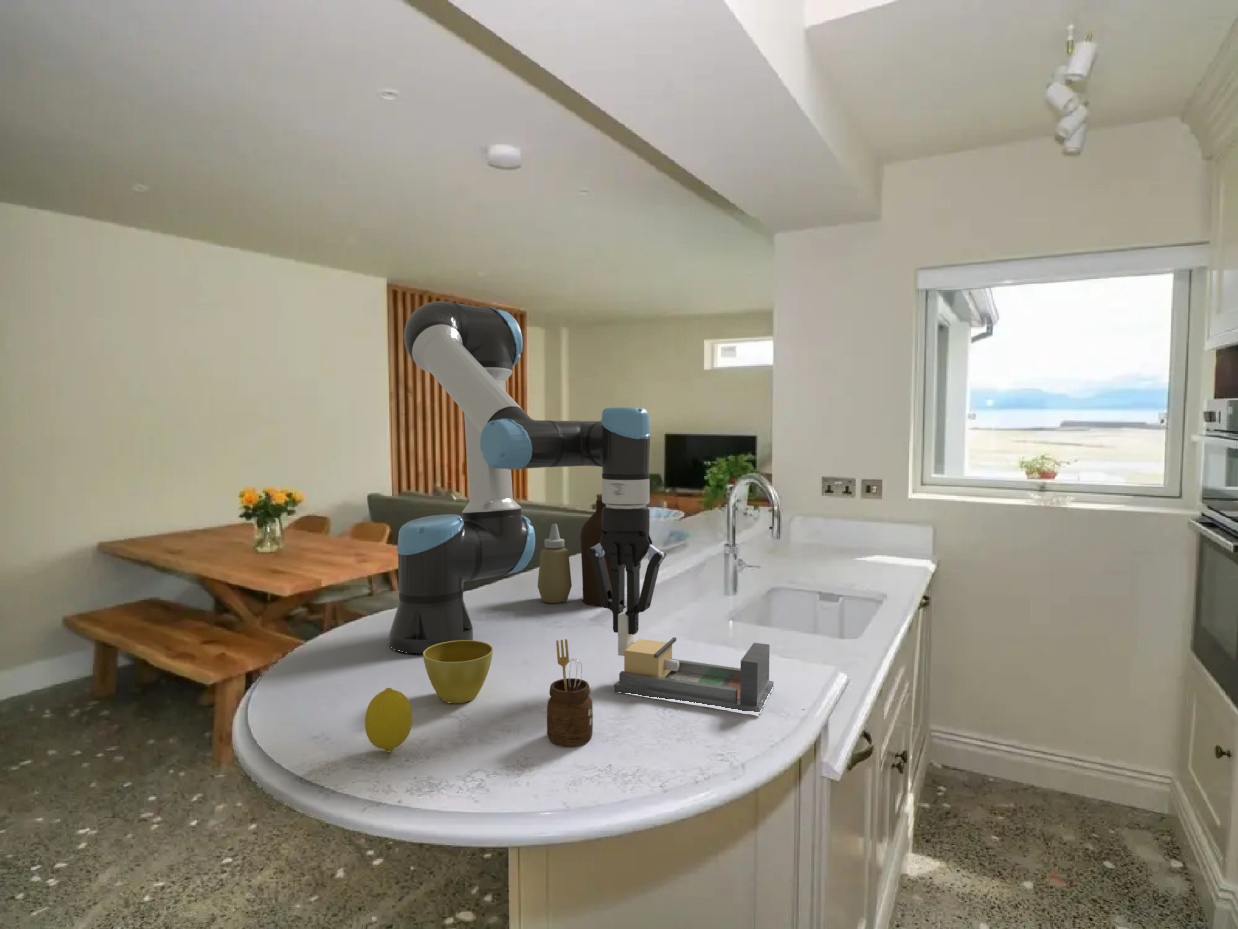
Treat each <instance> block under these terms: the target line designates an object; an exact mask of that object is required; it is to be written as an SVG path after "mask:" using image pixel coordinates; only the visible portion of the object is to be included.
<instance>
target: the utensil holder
mask: <svg viewBox="0 0 1238 929" xmlns="http://www.w3.org/2000/svg"><path fill="white" fill-rule="evenodd" d="M559 642H560V643H559ZM555 644H556V657H557V658H556V659H557V665H559V666H561V667H562V677H563V678H560V679H557V680H554V681H553V682H552V683H551V684H550V687H549V690H548V691H549V693H548V694H549V696H550V697H549V698H548V701H547V705H546V734H547V739H548V741H549V742H550V743H551V744H553V745H555V746H557V747H562V748H576V747H580V746H583V745H585V744H587V743H588V742H590V740H592V736H593V725H594V718H593V717H594V715H593V714H594V713H593V712H594V709H593V701H592V698H591V697H590V693H591V688H590V684H589V682H588V681H586V680H584V679H582V673H583V667H582V666H583V664H582V663H581V662H580V660H579V659H577V658H571V659H570V655H569V645H568V644H569V643H568V639H567V638H566V639H564V640H563V639H560V641H559V640H555ZM564 646H565V649H564ZM560 649H561V650H560ZM564 650H565V651H564ZM560 652H561V654H560ZM560 655H561V656H560ZM572 662H575V664H574V665H577V664H578V665H579V666H580V669H581V672H580V675H581V676H580V678H576V677H577V675H578V667H575V669H576V670H575V671H576V672H575V674H576V675H575V677H574V678H573V677H567V673H566V669H567V668H566V667H567V665H569V663H570V665H569V669H571V667H572V664H573V663H572ZM576 662H577V663H576ZM568 673H569V674H568V676H571V670H569V672H568Z"/></svg>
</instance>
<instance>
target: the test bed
mask: <svg viewBox="0 0 1238 929" xmlns="http://www.w3.org/2000/svg"><path fill="white" fill-rule="evenodd" d="M770 646H771V645H770V644H769V643H760V642H753V643H752V645H751V646H750V647H749V649H748V650H747V651H746V653H745V654H744V655H743V657H742V658H741V659H740V668H739V667H732V666H727V665H718V664H712V663H703V662H697V661H689V660H684V659H676V658H672V660H678V661H679V669H678V671H671V672H670V673H669V674H668V675H667V676H666V677H658V676H652V675H645V674H638V673H632V672H625V671H624V670H622V671H620V672H619V674H618V678H619V679H618V681H617V682H616V683H615V684H613V692H621V693H631V694H638V695H642V696H649V697H657V698H658V697H659V698H665V699H675V700H680V701H681V700H682V701H689V702H694V703H695V702H696V703H702V704H707V705H715V706H721V707H725V708H731V709H738V710H742V711H754V712H760V710H761V708H762V706H763V705H764V702H765V700H766V699H767V696H768V694H769V693H770V691H771V689H772V687H773V688H774V681H772V680H770Z"/></svg>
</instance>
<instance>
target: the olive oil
mask: <svg viewBox="0 0 1238 929" xmlns="http://www.w3.org/2000/svg"><path fill="white" fill-rule="evenodd" d="M605 506H606V504H604V503H603V502H602V493H598V494H596V501H595V508H596V509H595V511H594V512H593V513H592V514H591V516H589V518H588V519H587V520H586V521H585V523H584V524H583V526H582V528H581V532H580V535H579V536H580V554H581V556H580V558H581V572H582V573H581V574H582V575H581V576H582V577H581V578H582V602H583V603H585V604H586V605H591V606H598V607H599V606H600V607H602V605H601V600H600V596H599V591H598V587H597V582H596V578H595V573H594V568H593V564H592V561H591V560H590V558H589V556H588V554H587V549H588V548H591V547H594V546H595V545H597V544H598V543H600V538H601V536H602V533H603V530H602V509H603V507H605ZM604 552H605V551H604ZM604 558H605V561H606V565H607V570H608V574H609V579H610V584H611V588H612V570H611V560H610V559H609V557H608V556H607V554H606V553H604Z"/></svg>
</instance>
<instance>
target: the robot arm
mask: <svg viewBox="0 0 1238 929" xmlns="http://www.w3.org/2000/svg"><path fill="white" fill-rule="evenodd" d="M403 330H404V331H403V341H404V342H403V343H404V345H405V350H406V352H407V354H408V356H409V357H410V358H411V360H412V361H413V362H414V363H415V365H416V366H417V367H418V368H419V369H421V370H422V371H424V372H427V373H430V374H431V375H432V376H433V378H434V379H435V380H436V381H437V382H438V383H439V385H440V386H441V387H442V388H443V389H444V390H445V392H446V393H447V394H448V395H449V396H450V398H451V399H452V400H453V401H454V402H455V404H456V405H457V406H458V407H459V408H460V409H461V411H462V412H463V415H464V432H465V433H464V434H465V448H466V449H465V450H466V465H467V468H466V469H467V481H468V482H467V483H468V498H469V500H468V504H467V505H466V506H465V508H463V510H462V516H461V515H459V514H455V513H454V514H453V513H447V514H446V513H445V514H444V513H443V514H438V515H436V514H434V515H429V516H424V517H419V518H415V519H412V520H409V521H408V522H406V523H405V524H403V525H401V527H400V529H399V531H398V539H397V547H396V550H397V551H396V552H397V563H398V564H397V565H398V566H397V567H398V568H397V571H398V572H397V573H398V575H397V576H398V605H397V608H396V612H395V615H394V618H393V621H392V624H391V627H390V630H389V634H388V635H389V637H388V638H389V644H390V645H389V647H390V646H391V647H392V648H394V649H395V650H400V651H403V652H407V653H406V654H408V653H416V654H415V655H423V652H424V651H425V650H426V649H427V648H429V647H431V646H433V645H435V644H439V643H443V642H449V641H457V640H474V628H473V624H472V621H471V618H470V615H469V613H468V609H467V607H466V604H465V601H464V582H470V581H471V582H472V581H476V580H480V579H487V578H492V577H505V576H506V577H507V576H509V575H510V574H515V573H518V572H521V571H523V570H524V569H525V568H526V567H527V566H528V564H529V562H531V560H532V558H533V556H534V551H535V548H536V534H535V533H536V532H535V529H534V526H533V525H532V522H531V520H530V519H529V518H528V517H526V516H525V515H523V514H522V506H521V505H520V504H518V503H517V502H516V501H515V499H514V496H513V482H512V480H513V479H512V471H514V470H515V471H517V470H523V469H524V470H525V469H526V470H527V469H537V468H538V469H540V468H565V467H566V468H567V467H568V468H569V467H601V469H602V470H601V482H602V484H601V494H602V502H603V503H604V504H606V506H605V507H603V509H602V530H603V533H602V536H601V538H600V543H598V544H597V545H595V546H594V547H591V548H588V549H587V554H588V556H589V558H590V560H591V561H592V564H593V568H594V573H595V578H596V582H597V587H598V591H599V596H600V600H601V605H602V606H601V607H602V608H603V609H607V610H610V611H611V612H612V630H613V633H617V656H621V657H624V650H625V649H627V648H628V647H629V646H631V645H632V644H633V643H634V635H636V634H638V632H639V628H640V627H639V624H640V623H639V619H640V618H639V616H640V615H639V614H640V613H643V612H645V611H647V610H648V609H649V608H650V607H651V605H652V600H653V596H654V591H655V587H656V583H657V579H658V575H659V574H658V573H659V572H660V571H659V570H660V566H661V564H662V563H663V561H664V560H665V559H666V557H667V553H666V552H665V551H664V550H659V549H658V548H657V547H655V546H654V545H653V541H652V538H651V536H650V528H651V527H650V526H651V525H650V519H651V517H650V515H651V512H650V510H651V509H650V508H649V507H648V506H647V505H648V504H650V501H651V500H650V499H651V496H650V491H651V490H650V488H651V487H650V486H651V485H650V480H651V479H650V455H651V454H650V450H651V448H650V447H651V445H650V444H651V435H652V434H651V428H650V414H649V412H648V410H647V409H646V408H644V407H632V406H631V407H630V406H629V407H623V406H622V407H621V406H620V407H618V406H617V407H605V408H604V409H602V413H601V419H600V420H550V419H549V420H547V419H546V420H542V419H540V420H539V419H533V418H531V417H530V416H529V414H528V413H527V412H525V411H524V409H523V408H522V407H521V406H520V405H519V404H518V402H516V401H515V400H514V398H512V396H511V395H510V394H509V393H507V388H506V387H507V386H506V384H507V383H506V382H507V380H508V379H509V378H510V377H511V375H513V367H515V366H516V365H517V364H518V362H519V361H520V359H521V353H522V352H523V346H524V344H523V343H524V342H523V340H524V339H523V335H522V331H521V327H520V325H519V323H518V321H517V319H516V318H514V317H513V315H512V314H510V312H508V311H505V310H503V309H498V308H497V309H496V308H494V307H491V306H479V305H471V304H464V303H463V304H462V303H457V302H450V301H445V300H440V301H439V300H437V301H431V302H427V303H426V304H423V305H421V306H420V307H418V308H417V309H415V310H414V311H413V312H412V313H411V315H410V316H409V318H408V319H407V321H406V323H405V326H404V329H403ZM604 551H605V552H604ZM604 553H606V554H607V556H608V557H609V559H610V560H611V570H612V588H611V584H610V579H609V574H608V570H607V565H606V561H605V558H604ZM646 555H648V556H647V559H648V563H647V566H646V570H645V574H644V579H643V583H642V587H641V586H640V584H641V583H640V581H641V580H640V579H641V578H640V576H641V575H640V574H641V572H640V570H641V567H642V566H641V565H642V560H643V559H644V558H645V557H646ZM625 572H626V574H625ZM625 575H626V578H625ZM625 579H626V580H625ZM625 581H626V582H625ZM625 583H626V586H625ZM625 587H626V588H625ZM640 588H641V592H640ZM625 589H626V591H625ZM625 592H626V593H625ZM625 594H626V595H625ZM625 597H626V598H625ZM625 599H626V601H625ZM625 602H626V605H625ZM625 609H626V610H625ZM391 647H390V648H391ZM392 648H391V649H392ZM395 650H394V651H395ZM417 653H419V654H417ZM421 653H422V654H421Z"/></svg>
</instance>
